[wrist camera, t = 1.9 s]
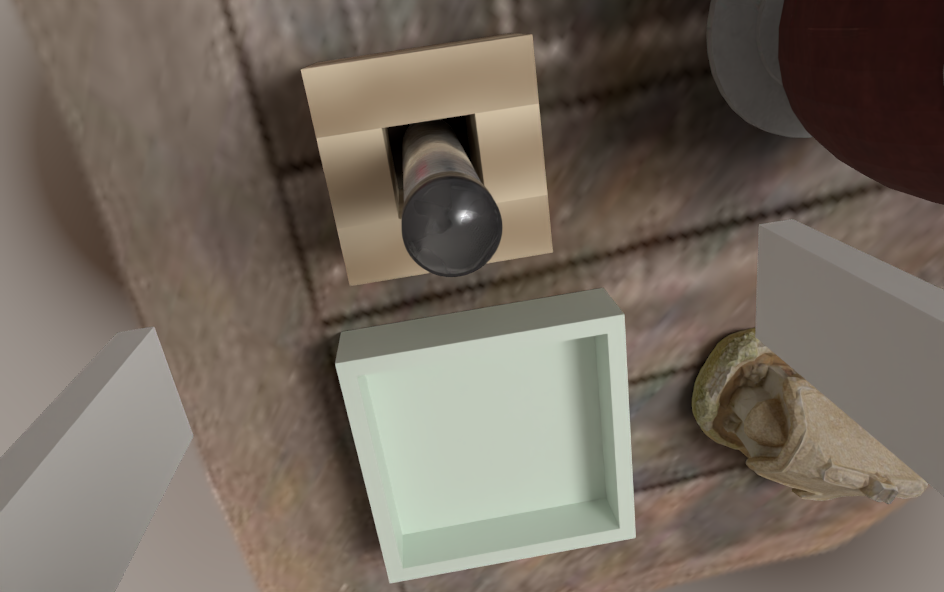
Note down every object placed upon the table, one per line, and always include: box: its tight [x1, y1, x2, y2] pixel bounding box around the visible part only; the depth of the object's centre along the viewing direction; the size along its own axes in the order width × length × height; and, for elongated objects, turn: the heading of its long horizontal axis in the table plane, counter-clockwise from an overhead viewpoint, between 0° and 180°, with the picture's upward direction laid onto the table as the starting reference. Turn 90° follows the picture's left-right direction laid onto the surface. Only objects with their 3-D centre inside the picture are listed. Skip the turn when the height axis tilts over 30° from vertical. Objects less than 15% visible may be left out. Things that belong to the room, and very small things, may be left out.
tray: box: [335, 288, 636, 583], centre depth 41 cm, size 16×16×4 cm
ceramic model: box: [692, 328, 928, 504], centre depth 40 cm, size 14×11×10 cm
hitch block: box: [301, 33, 553, 286], centre depth 33 cm, size 10×10×6 cm
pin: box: [401, 119, 503, 277], centre depth 28 cm, size 3×3×16 cm
